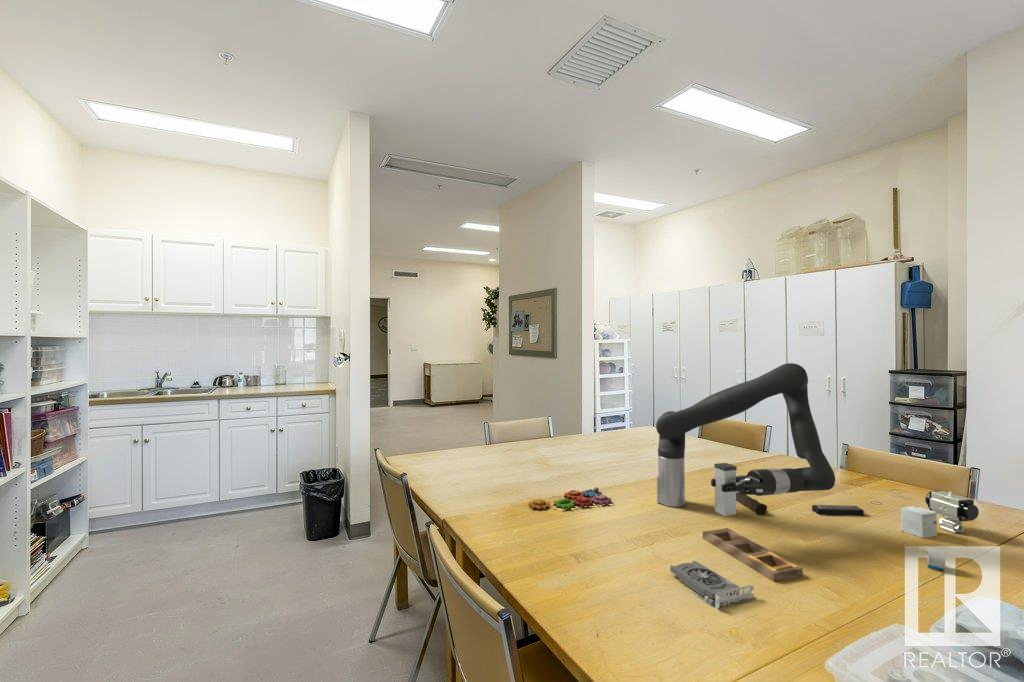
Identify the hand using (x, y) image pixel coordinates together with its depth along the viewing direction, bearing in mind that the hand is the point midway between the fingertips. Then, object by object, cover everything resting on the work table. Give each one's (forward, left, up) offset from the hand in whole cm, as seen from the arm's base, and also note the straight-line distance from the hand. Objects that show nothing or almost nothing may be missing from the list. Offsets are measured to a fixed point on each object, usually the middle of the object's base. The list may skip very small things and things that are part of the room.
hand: (717, 485), depth 134 cm
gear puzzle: (-52, +12, -18) cm, 56 cm away
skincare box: (+53, +36, -17) cm, 66 cm away
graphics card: (0, -26, -18) cm, 32 cm away
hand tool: (+6, +39, -18) cm, 43 cm away
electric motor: (+50, +11, -17) cm, 54 cm away
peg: (+2, +2, -8) cm, 9 cm away
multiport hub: (+34, +45, -18) cm, 59 cm away
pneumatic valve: (+62, +43, -17) cm, 77 cm away
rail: (+8, -4, -17) cm, 19 cm away
